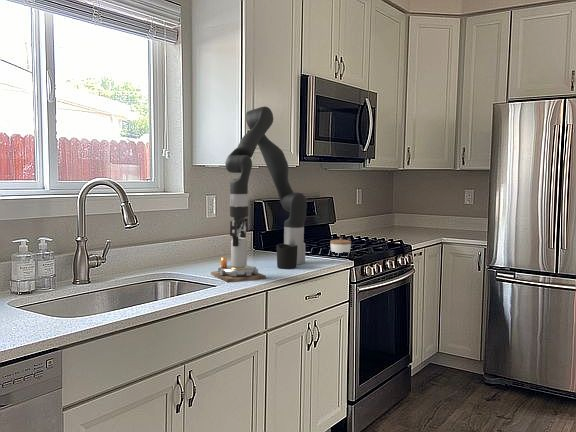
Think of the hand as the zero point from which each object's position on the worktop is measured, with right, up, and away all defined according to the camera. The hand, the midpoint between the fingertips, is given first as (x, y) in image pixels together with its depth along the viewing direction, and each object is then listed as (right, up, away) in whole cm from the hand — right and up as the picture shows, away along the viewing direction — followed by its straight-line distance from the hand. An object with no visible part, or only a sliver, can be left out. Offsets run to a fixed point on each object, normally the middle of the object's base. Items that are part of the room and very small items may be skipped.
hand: (239, 244), depth 224 cm
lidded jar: (+47, -9, +60) cm, 77 cm away
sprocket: (-1, -12, +1) cm, 12 cm away
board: (-1, -13, +1) cm, 13 cm away
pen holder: (+19, -12, +24) cm, 33 cm away
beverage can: (0, -9, +1) cm, 9 cm away
